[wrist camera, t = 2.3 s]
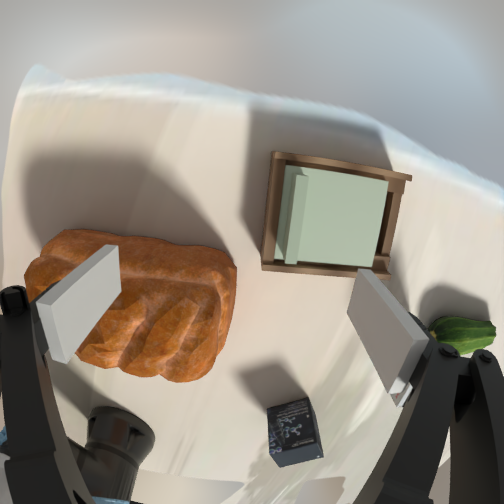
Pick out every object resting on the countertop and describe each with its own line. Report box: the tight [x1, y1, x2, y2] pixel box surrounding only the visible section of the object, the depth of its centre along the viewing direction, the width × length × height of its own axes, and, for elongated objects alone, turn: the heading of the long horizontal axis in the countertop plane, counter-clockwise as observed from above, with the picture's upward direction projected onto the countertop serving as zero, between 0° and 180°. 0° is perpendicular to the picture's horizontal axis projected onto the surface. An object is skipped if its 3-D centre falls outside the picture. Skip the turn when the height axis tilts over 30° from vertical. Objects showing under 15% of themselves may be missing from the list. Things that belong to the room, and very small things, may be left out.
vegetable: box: [428, 317, 496, 355], centre depth 40 cm, size 7×7×20 cm
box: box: [267, 398, 324, 467], centre depth 43 cm, size 8×6×11 cm
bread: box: [24, 229, 237, 383], centre depth 32 cm, size 14×26×16 cm, turn 81°
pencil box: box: [260, 151, 412, 280], centre depth 34 cm, size 16×13×5 cm
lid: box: [274, 165, 388, 267], centre depth 31 cm, size 12×10×4 cm
